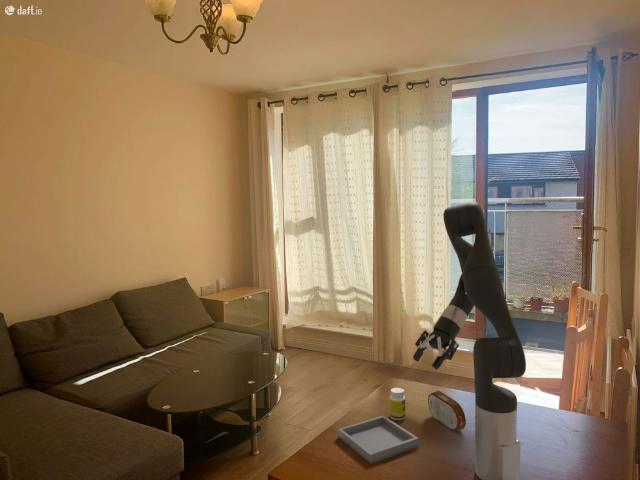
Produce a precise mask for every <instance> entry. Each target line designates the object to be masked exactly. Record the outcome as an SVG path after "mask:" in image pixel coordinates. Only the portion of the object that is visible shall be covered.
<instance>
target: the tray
mask: <svg viewBox="0 0 640 480" xmlns="http://www.w3.org/2000/svg"><path fill="white" fill-rule="evenodd" d="M337 432H338V433H337V435H338V437H337V438H338V439H339V440H341V441H342V442H343V443H344V444H345V445H346V446H348V447H349V448H350V449H352V450H353V452H355V453H356V454H357V455H359V456H360V457H361V458H362V459H364V460H365V461H366V462H367V463H368V464H370V465H373V464H375V463H378V462H381V461H384V460H387V459H389V458H392V457H395V456H397V455H401V454H403V453H406V452H409V451H412V450H415V449H417V448H419V446H420V445H419V444H420V441H419V437H417V436H416V435H414V434H413V433H411V432H410V431H408V430H407V429H405V428H403V426H400V425H399V424H397V423H396V422H395V421H392V419H390V418H388V417H386V416H385V415H381V416H378V417H374V418H371V419H368V420H364V421H360V422H356V423H355V424H351V425H348V426H345V427H341V428H338V429H337Z"/></svg>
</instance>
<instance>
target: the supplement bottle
mask: <svg viewBox="0 0 640 480" xmlns="http://www.w3.org/2000/svg"><path fill="white" fill-rule="evenodd" d="M389 417H390V418H391V420H394V421H403V420H404V419H405V418H406V396H405V389H403V388H400V387H393V388H391V389H390V396H389Z"/></svg>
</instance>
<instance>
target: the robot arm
mask: <svg viewBox="0 0 640 480" xmlns="http://www.w3.org/2000/svg"><path fill="white" fill-rule="evenodd" d="M443 223H444V227H445V230H446V233H447V236H448V239H449V241H450V243H451V245H452V249H454V252H455V254H456V256H457V259H458V262H459V266H460V271H461V274H460V276H459V279H458V284H457V286H456V290H455V293H454V295H453V297H452V299H451V300H450V302H449V303H448V305H447V306H446V307H445V309H444V310H443V311H442V313H441V315H440V316H439V318H438V319H437V320H436V323H435V324H434V325H433V330H432V332H430V333H429V332H428V331H427V330H424V331H423V332H422V333H421V334H420V335H419V337H418V339H417V340H416V341H415V343H414V345H415V346H416V347H417V349H416V350H415V352H414V354H413V356H412V357H413V358H412V359H413V361H415V362H419V361H420V360H421V358H422V356H423V355H424V353H425V352H426V351H428V350H429V351H430V350H432V349H433V350H437V351H438V355H437V356H436V357H435V359H434V361H433V363H432V364H431V367H432V368H433V370H438V369H440V368H441V367H442V365H443V363H444V361H446V360H448V361H452V360H453V358H454V355H455V354H456V352H457V350H458V348H459V347H460V345H459V343H458V342H457V340H456V338H457V337H458V335H459V332H460V331H461V330H462V328H463V326H465V325H464V324H465V323H466V321H467V318H468V317H469V316H470V314H471V312H472V310H473V309H474V307H475V308H476V309H477V311H479V312H480V313H481V315H483V316H484V317H486V318H487V320H488V321H489V322H490V323H491V325H492V326H493V328H494V329H495V332H496V334H497V336H498V337H479V338H476V340H475V341H474V344H473V351H472V354H473V355H472V356H473V372H474V378H473V379H474V393H475V394H474V396H475V399H474V402H475V403H474V404H475V405H474V408H475V411H474V414H475V415H474V426H475V427H474V429H475V430H474V433H475V435H474V437H475V438H474V442H475V443H474V445H475V446H474V449H475V450H474V451H475V452H474V453H475V455H474V456H475V457H474V459H475V461H474V462H475V466H474V469H475V471H474V472H475V475H476V476H477V477H478V478H479V479H480V480H521V441H520V440H519V439H518V438H517V437H518V435H517V433H518V428H517V426H518V416H517V415H518V398H517V395H516V394H515V393H514V392H513V391H512V390H510V389H508V388H506V387H502V386H500V385H497V384H495V383H493V379H515V378H521V377H523V376H524V375H525V373H526V369H527V361H526V355H525V352H524V348H523V344H522V342H521V339H520V336H519V334H518V331H517V328H516V326H515V324H514V320H513V318H512V316H511V312H510V309H509V306H508V302H507V298H506V295H505V291H504V286H503V282H502V279H501V276H500V272H499V268H498V266H497V263H496V259H495V257H494V252H493V249H492V246H491V241H490V237H489V233H488V227H487V223H486V219H485V214H484V211H483V208H482V206H481V204H480V203H479V202H477V201H471V202H467V203H462V204H458V205H453V206H450V207H447V208H445V209H444V210H443ZM472 235H475V236H474V242H473V244H471V243H470V242H469V241H467V240H465V239H464V237H468V236H472Z"/></svg>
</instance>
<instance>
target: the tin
mask: <svg viewBox="0 0 640 480" xmlns="http://www.w3.org/2000/svg"><path fill="white" fill-rule="evenodd" d="M427 403H428V409H429V412H430V414H431V416H432V417H433V419H435V420H436V421H437V422H439V423H440V424H441V425H442V426H444V427H446V428H447V429H448V430H450V431H452V432H458V431H462V430H464V429H465V427H466V425H467V418H466V415H465V412H464V411H465V410H464V409H463V408H462V406H461V405H460V404H459V402H458V401H456V400H455V399H454V398H451V397H450V396H449V395H447V394H445V393H444V392H442V391H440V390H436V391H434V392H431V393H429V395H428V396H427Z"/></svg>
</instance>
